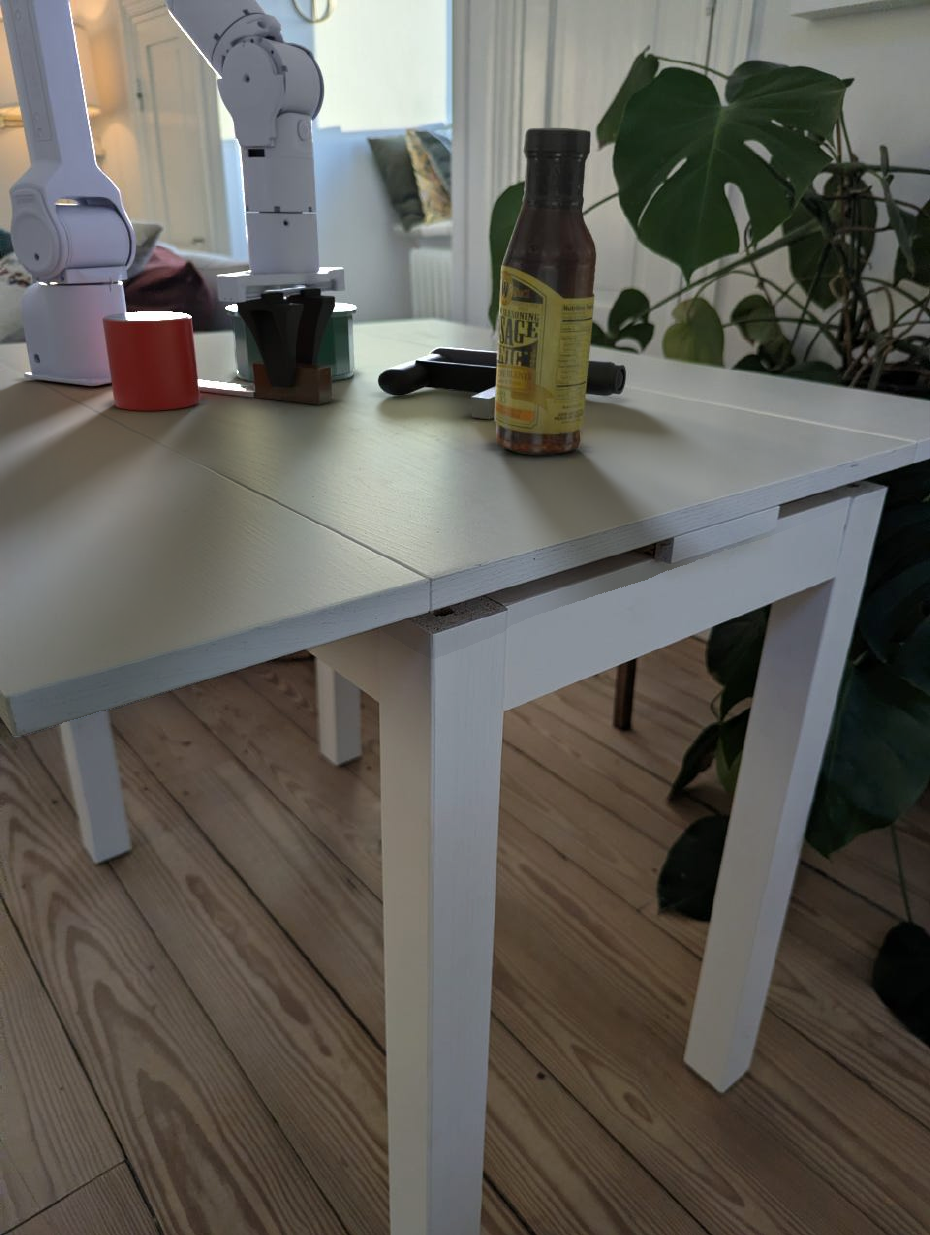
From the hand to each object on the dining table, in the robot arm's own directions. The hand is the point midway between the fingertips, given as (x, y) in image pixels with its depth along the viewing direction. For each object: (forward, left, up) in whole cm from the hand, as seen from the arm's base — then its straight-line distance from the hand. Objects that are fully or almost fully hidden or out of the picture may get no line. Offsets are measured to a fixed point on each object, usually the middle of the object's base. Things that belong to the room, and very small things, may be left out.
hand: (292, 384), depth 79 cm
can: (-9, -7, -1) cm, 11 cm away
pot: (-8, +11, -1) cm, 14 cm away
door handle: (+15, +9, -2) cm, 18 cm away
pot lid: (-8, +11, +5) cm, 14 cm away
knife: (-4, 0, -1) cm, 5 cm away
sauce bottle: (+26, -6, -2) cm, 27 cm away
